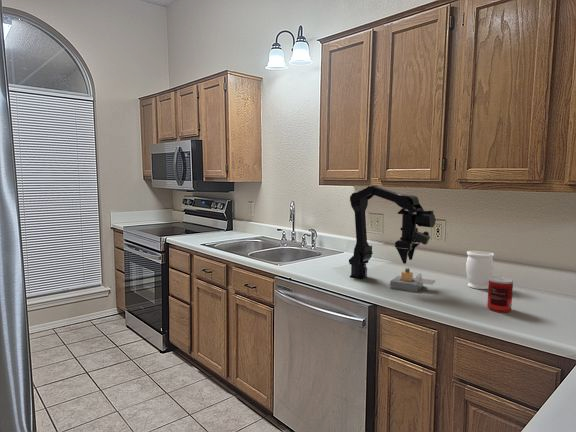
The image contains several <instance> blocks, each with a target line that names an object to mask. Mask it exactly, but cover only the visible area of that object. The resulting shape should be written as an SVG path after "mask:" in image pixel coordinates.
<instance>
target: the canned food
mask: <svg viewBox="0 0 576 432" xmlns="http://www.w3.org/2000/svg"><path fill="white" fill-rule="evenodd" d="M513 288H514V281H513V280H512V279H511V278H508V277H502V276H492V277H490V278H489V284H488V289H487V303H486V305H487V308H488V309H489V310H490V311H493V312H496V313H505V314H507V313H510V312H511V310H512V305H513V304H512V303H513V302H512V301H513V290H514V289H513Z"/></svg>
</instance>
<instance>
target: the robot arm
mask: <svg viewBox="0 0 576 432" xmlns="http://www.w3.org/2000/svg"><path fill="white" fill-rule="evenodd" d="M374 196H376V197H379V198H381V199H384V200H386V201H389V202H392V203H395V204H396V205H397V206H398V207H400V210H399V211H398V212H397V214H398V215H402V219H401V227H400V231H401V237H399V239H398V240H396V241H395V242H394V248H395V249H396V251H397V252H398V255H399V257H400V259H401V261H402V263H403V265H405V264H407V261H408V260H409V261H412V260H413V258H414V254H415V251H416V248H417V247H419V245H420V244H422V245H426V246H427V244H429V241H430V240H431V235H430V233H429V232H428V231H424V232H422V231H419V227H423V228H434V227H435V224H436V222H437V221H436V215H435V213H434V210H425V209H424V207H423V206H422V205H421V203H420V201H419V197H418V196H416V195H412V194H405V193H399V192H396V191H392V190H389V189H386V188H384V187H381V186H378V185H377V184H375V185H374V184H373V185H372V184H371V185H368V186H367V187H366V188H363V189H362V190H359V191H357V192H355V191H354V192H353V193H351V195H350V197H349V201H350V202H349V203H350V206H351V208H352V211H354V224H355V225H354V226H355V238H356V239H355V240H356V243H355V246H354V249H353V255H352V256H351V257H350V258H348V264H349V265H351V267H350V268H351V269H350V275H349V278H354V279H360V280H361V279H362V280H363V279H364V278H366V277H368V267H367V264H368V263H369V261H370V260H371V258H372V256H373V254H374V253H373V245H369V242H368V237H367V236H368V235H367V234H368V233H367V218H366V217H367V216H366V210H367V208H368V205H369V203H368V202H369V201H370V200H371V199H373V197H374ZM417 226H418V227H417Z"/></svg>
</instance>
